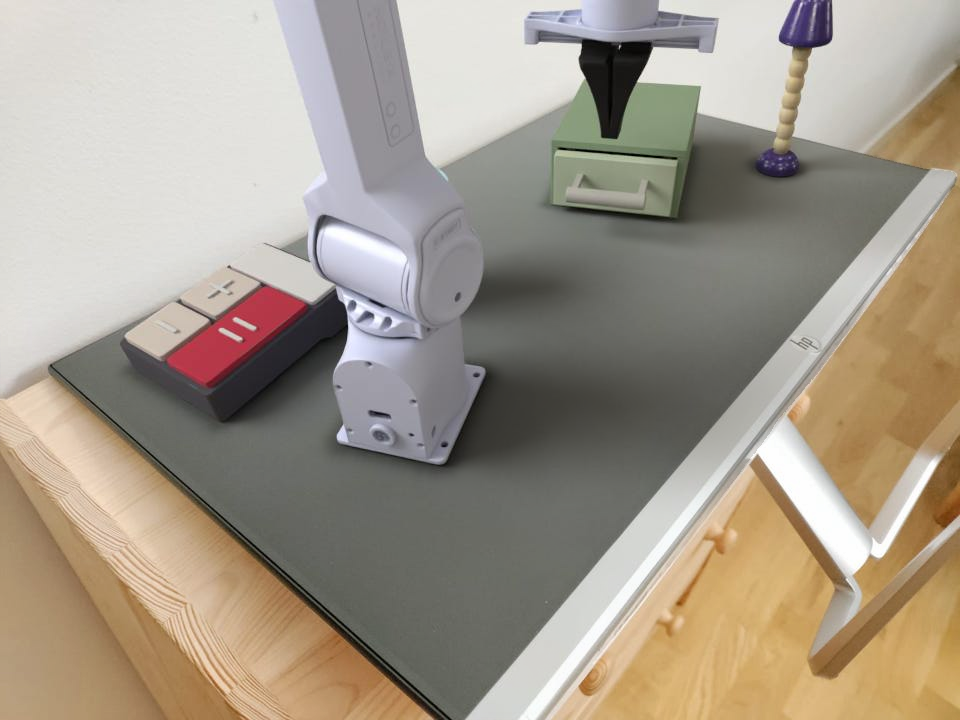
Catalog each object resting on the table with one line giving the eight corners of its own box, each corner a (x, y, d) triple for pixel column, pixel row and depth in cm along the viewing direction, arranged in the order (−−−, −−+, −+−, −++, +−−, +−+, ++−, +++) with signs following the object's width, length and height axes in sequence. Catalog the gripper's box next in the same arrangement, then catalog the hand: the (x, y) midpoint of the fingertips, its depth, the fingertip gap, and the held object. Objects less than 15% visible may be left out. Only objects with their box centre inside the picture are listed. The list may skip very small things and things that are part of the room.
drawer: (663, 241, 64) (671, 189, 60) (542, 227, 67) (542, 176, 63) (685, 149, 77) (691, 102, 73) (582, 141, 80) (584, 95, 76)
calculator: (111, 334, 53) (260, 233, 62) (135, 374, 56) (274, 273, 65) (203, 389, 48) (352, 270, 56) (225, 429, 51) (363, 311, 59)
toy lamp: (742, 167, 75) (778, -5, 64) (766, 151, 77) (804, -17, 66) (784, 181, 72) (828, 4, 61) (808, 165, 74) (855, -8, 63)
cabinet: (676, 218, 68) (686, 150, 63) (550, 204, 71) (551, 139, 67) (691, 147, 79) (701, 85, 74) (581, 138, 82) (584, 78, 77)
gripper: (732, -60, 52) (703, 120, 61) (539, -61, 56) (539, 108, 65) (726, -35, 47) (696, 157, 56) (515, -38, 51) (519, 142, 60)
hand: (611, 133), depth 60 cm, fingers closed
